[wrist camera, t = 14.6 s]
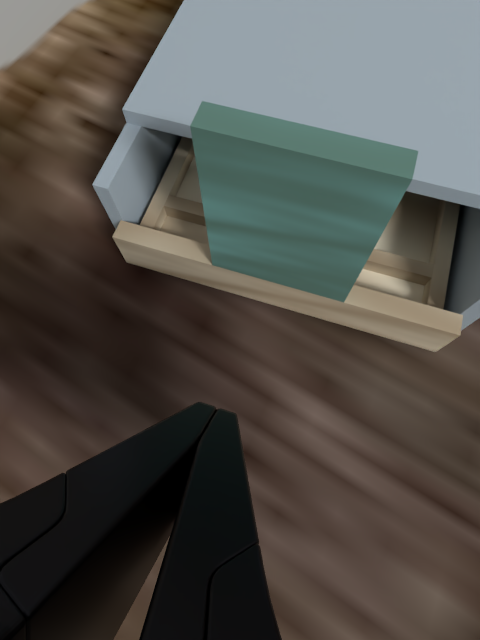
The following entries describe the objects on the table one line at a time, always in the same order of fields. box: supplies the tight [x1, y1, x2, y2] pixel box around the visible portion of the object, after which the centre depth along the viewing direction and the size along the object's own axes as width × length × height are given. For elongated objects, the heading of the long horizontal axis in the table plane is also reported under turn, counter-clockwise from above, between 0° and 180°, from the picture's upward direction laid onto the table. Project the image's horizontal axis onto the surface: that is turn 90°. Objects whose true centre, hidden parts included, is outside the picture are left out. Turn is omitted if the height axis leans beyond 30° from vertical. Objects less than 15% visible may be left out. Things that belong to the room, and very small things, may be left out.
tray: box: [113, 101, 463, 352], centre depth 15 cm, size 14×13×8 cm
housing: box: [92, 0, 480, 330], centre depth 18 cm, size 14×14×5 cm
